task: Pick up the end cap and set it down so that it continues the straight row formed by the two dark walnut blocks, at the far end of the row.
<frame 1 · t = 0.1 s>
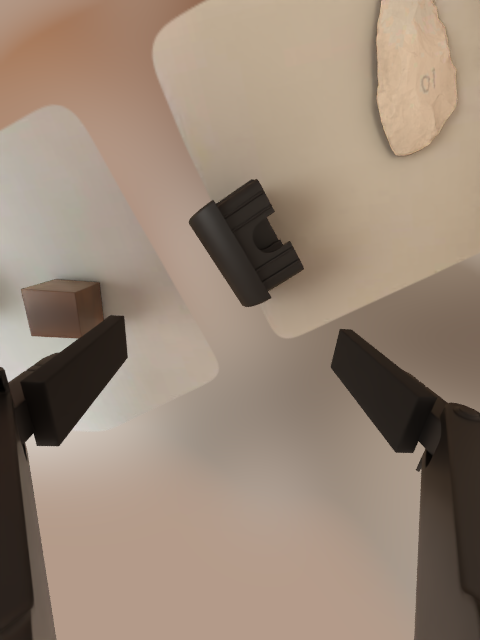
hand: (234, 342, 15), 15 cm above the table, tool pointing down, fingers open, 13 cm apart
end cap: (243, 245, 28), on the table
stone: (404, 73, 23), on the table
walnut block middle: (80, 301, 29), on the table
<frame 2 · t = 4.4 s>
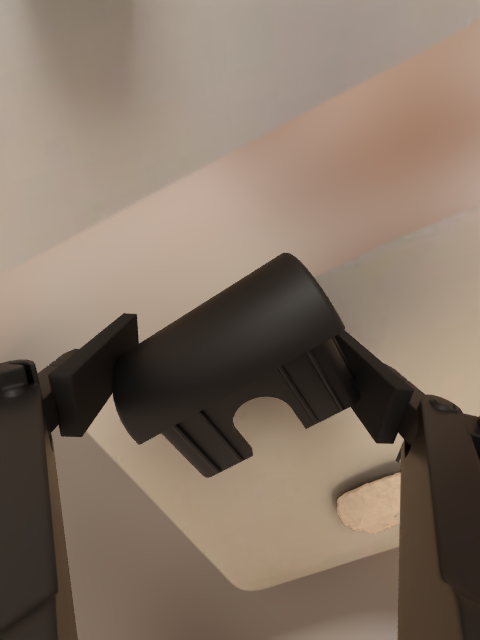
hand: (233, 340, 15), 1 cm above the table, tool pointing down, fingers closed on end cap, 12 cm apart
end cap: (235, 332, 16), on the table, touching gripper
stone: (406, 482, 22), on the table
when the fingers open (1 cm above the table, at t = 10.6 s): end cap stays where it is, on the table.
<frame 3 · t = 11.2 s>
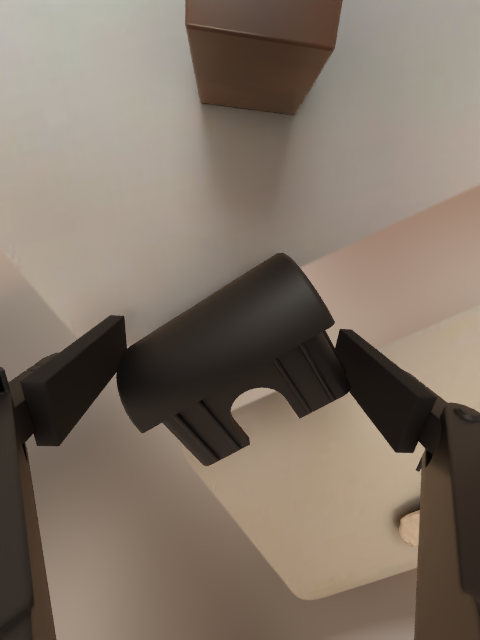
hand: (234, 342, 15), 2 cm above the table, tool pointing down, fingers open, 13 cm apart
end cap: (232, 329, 17), on the table
stone: (458, 503, 25), on the table
walnut block middle: (253, 46, 12), on the table
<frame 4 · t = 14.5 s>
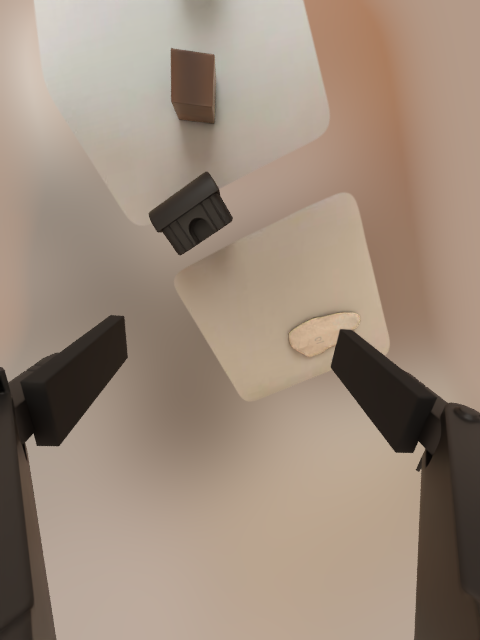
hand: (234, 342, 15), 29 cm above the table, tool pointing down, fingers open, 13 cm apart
end cap: (195, 217, 39), on the table
stone: (323, 330, 47), on the table
walnut block middle: (197, 99, 34), on the table
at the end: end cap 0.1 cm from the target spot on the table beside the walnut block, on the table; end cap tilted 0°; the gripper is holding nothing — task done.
